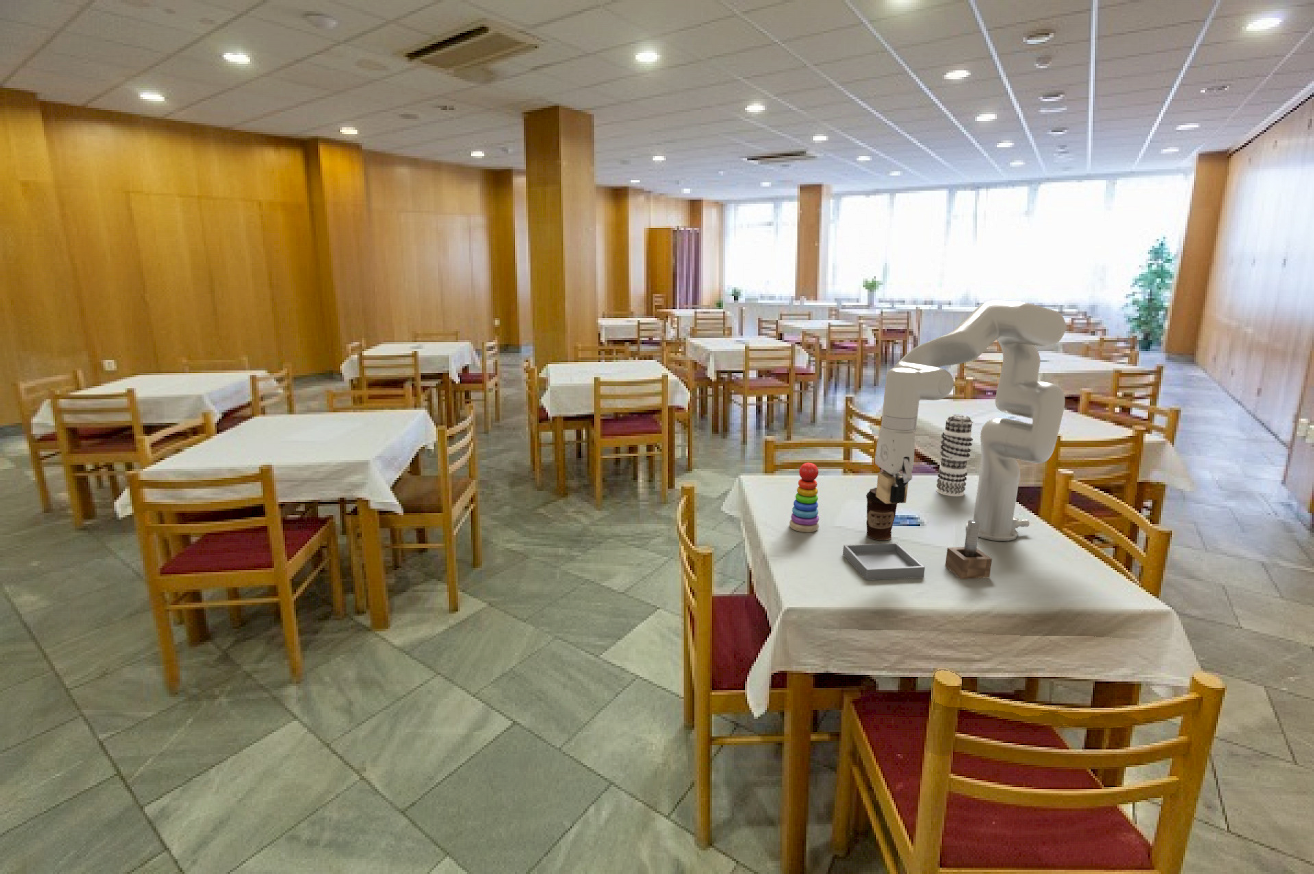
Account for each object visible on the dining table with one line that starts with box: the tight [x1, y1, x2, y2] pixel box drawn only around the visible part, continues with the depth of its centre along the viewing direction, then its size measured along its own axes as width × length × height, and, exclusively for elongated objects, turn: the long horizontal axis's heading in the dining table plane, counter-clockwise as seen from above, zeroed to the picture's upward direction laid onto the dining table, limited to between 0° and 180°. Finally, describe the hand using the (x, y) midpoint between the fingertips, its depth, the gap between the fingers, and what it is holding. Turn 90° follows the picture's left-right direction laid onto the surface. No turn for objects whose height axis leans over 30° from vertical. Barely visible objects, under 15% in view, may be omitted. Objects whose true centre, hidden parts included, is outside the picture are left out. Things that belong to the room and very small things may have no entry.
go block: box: [944, 546, 993, 580], centre depth 157 cm, size 7×7×5 cm
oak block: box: [876, 471, 909, 504], centre depth 155 cm, size 5×5×6 cm
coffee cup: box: [865, 487, 898, 541], centre depth 176 cm, size 9×8×13 cm
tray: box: [842, 542, 926, 581], centre depth 160 cm, size 14×14×3 cm
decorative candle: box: [935, 414, 974, 497], centre depth 211 cm, size 9×9×25 cm
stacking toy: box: [789, 462, 820, 533], centre depth 181 cm, size 8×8×19 cm
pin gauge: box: [963, 519, 980, 557], centre depth 156 cm, size 3×3×12 cm
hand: (891, 497), depth 156 cm, fingers closed on oak block, 5 cm apart
